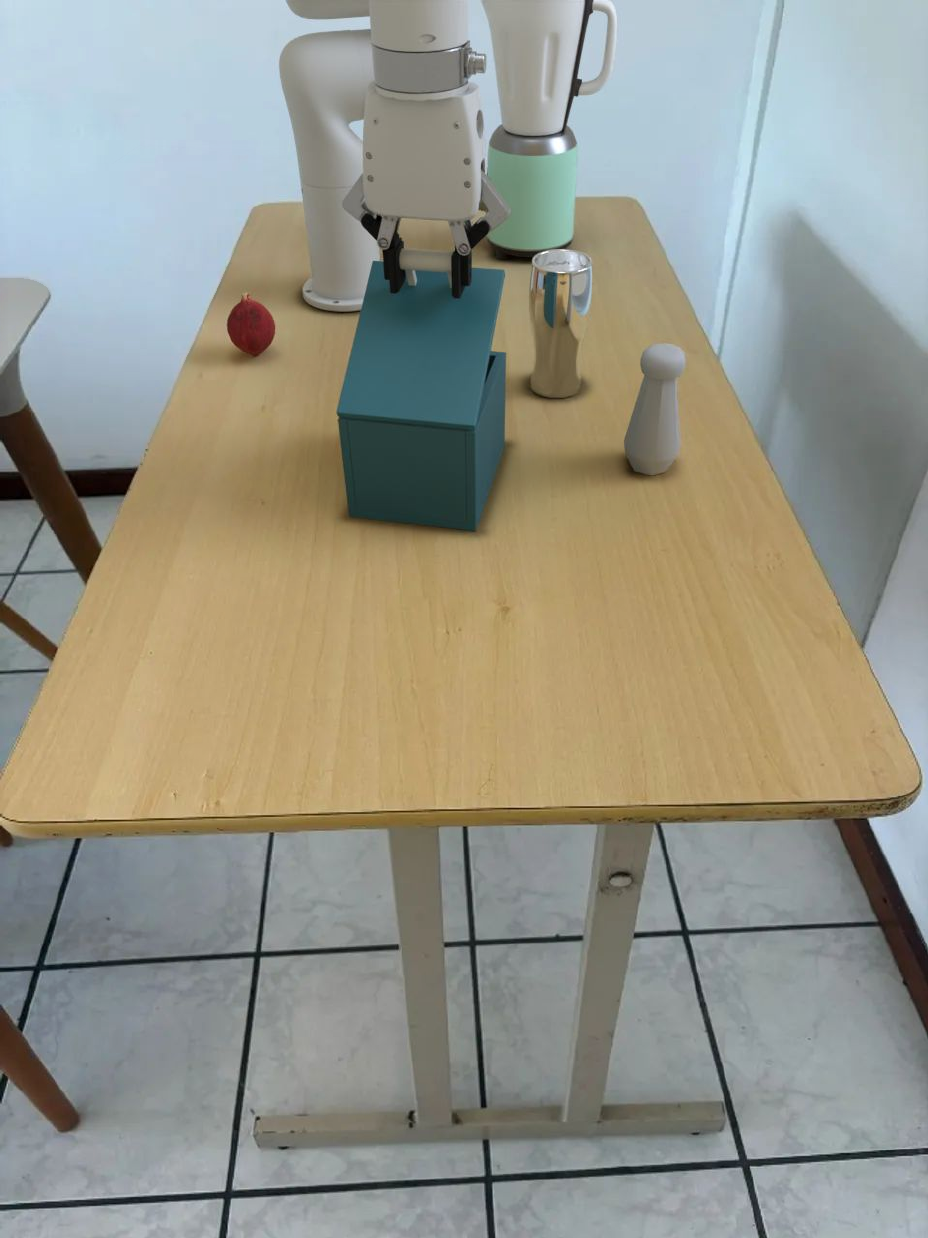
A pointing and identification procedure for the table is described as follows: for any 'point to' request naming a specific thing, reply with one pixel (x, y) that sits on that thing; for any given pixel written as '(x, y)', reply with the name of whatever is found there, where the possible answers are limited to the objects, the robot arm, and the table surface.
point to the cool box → (426, 463)
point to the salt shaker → (656, 411)
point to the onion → (250, 326)
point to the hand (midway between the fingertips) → (428, 287)
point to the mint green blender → (539, 117)
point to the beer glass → (559, 319)
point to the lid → (422, 345)
